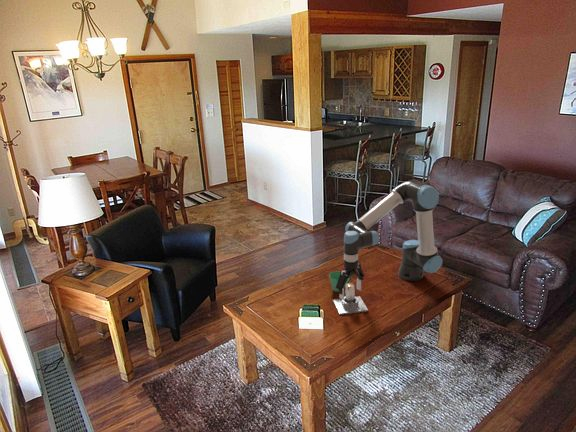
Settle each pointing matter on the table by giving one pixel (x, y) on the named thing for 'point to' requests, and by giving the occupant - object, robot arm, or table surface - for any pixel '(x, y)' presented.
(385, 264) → the table surface
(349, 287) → the pale grey cylinder
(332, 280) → the mug
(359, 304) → the duct flange
